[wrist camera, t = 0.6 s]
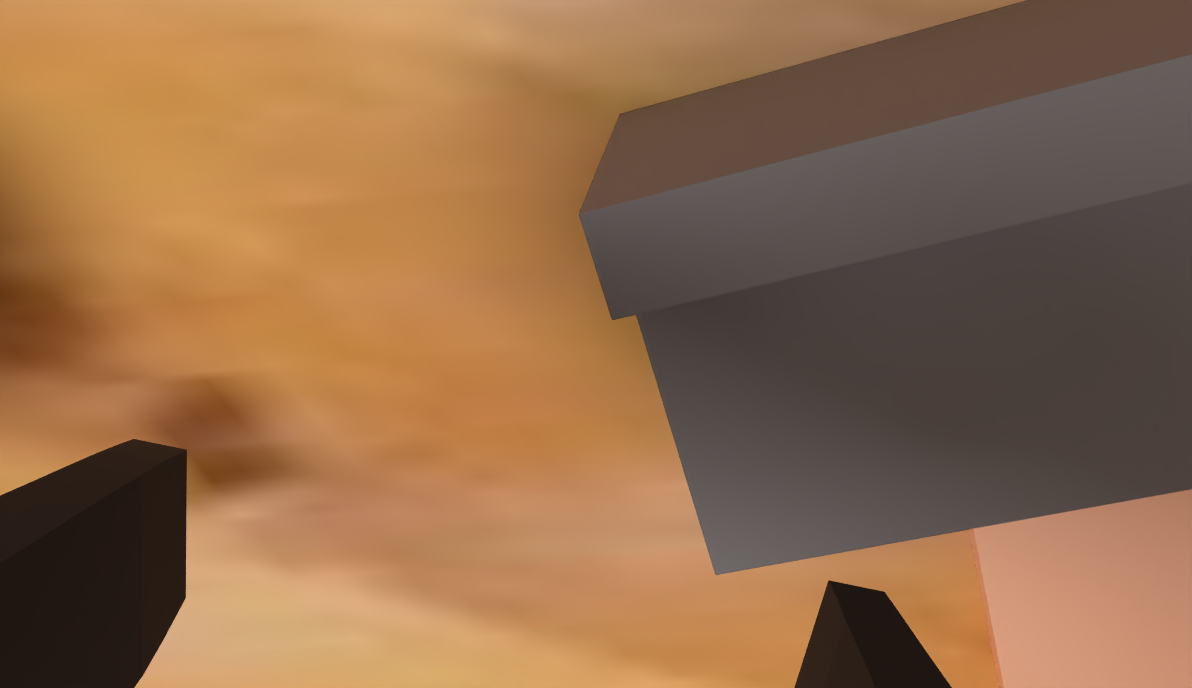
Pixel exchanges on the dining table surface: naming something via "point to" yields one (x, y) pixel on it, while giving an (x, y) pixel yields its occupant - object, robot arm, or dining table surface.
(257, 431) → the dining table surface
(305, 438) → the dining table surface
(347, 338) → the dining table surface
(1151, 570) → the stepped pink slab
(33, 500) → the robot arm
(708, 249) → the overhang
